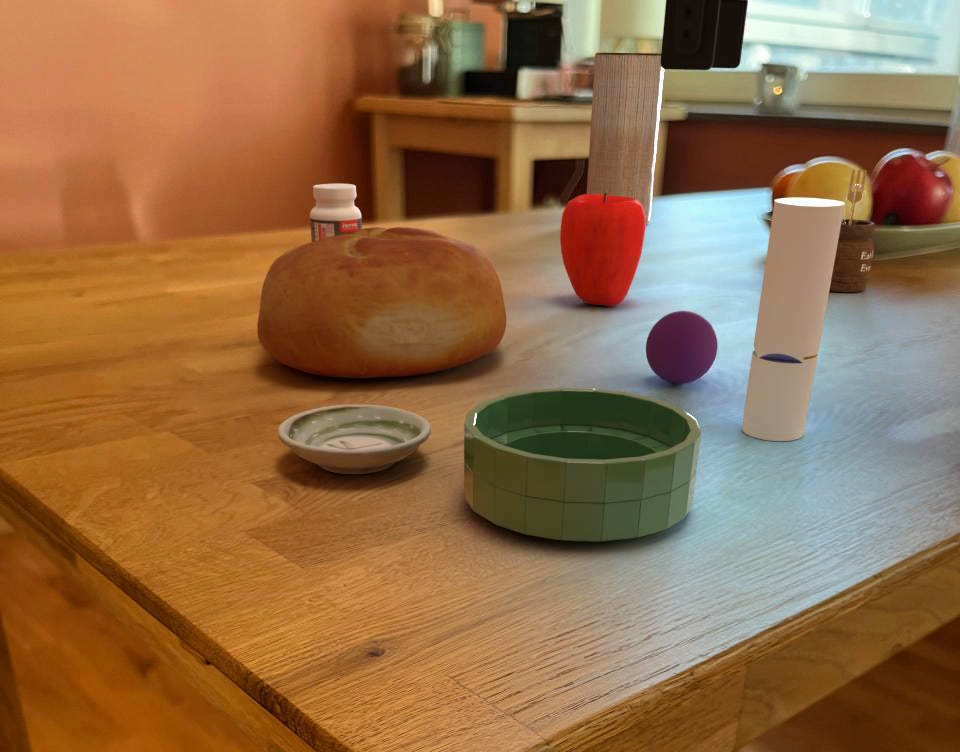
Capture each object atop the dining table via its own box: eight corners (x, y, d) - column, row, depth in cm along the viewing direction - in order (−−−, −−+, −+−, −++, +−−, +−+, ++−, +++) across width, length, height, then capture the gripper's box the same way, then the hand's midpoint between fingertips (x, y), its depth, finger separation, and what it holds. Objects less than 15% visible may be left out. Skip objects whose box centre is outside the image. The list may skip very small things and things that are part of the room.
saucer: (462, 460, 66) (462, 424, 65) (350, 502, 60) (348, 463, 59) (361, 427, 72) (359, 393, 70) (249, 462, 65) (245, 425, 64)
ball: (707, 373, 84) (716, 304, 82) (717, 393, 80) (727, 320, 77) (639, 372, 85) (646, 303, 82) (645, 391, 80) (652, 319, 77)
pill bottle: (351, 286, 113) (346, 190, 108) (305, 283, 115) (298, 187, 110) (372, 277, 118) (368, 184, 113) (327, 274, 119) (322, 181, 114)
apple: (540, 298, 109) (545, 188, 103) (608, 291, 112) (616, 185, 107) (585, 315, 102) (592, 199, 97) (656, 307, 106) (667, 195, 100)
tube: (779, 418, 74) (816, 196, 67) (816, 437, 71) (859, 205, 63) (729, 425, 73) (761, 198, 65) (764, 444, 69) (802, 207, 62)
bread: (198, 346, 90) (183, 226, 85) (410, 311, 103) (408, 204, 98) (340, 409, 75) (332, 267, 70) (568, 358, 88) (574, 235, 83)
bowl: (675, 467, 65) (684, 390, 63) (704, 555, 54) (716, 466, 52) (471, 461, 66) (471, 385, 63) (457, 547, 55) (457, 459, 52)
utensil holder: (811, 291, 114) (831, 174, 108) (812, 280, 119) (831, 168, 113) (866, 295, 112) (890, 176, 106) (865, 284, 118) (887, 170, 112)
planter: (616, 216, 163) (628, 52, 152) (663, 223, 157) (679, 53, 145) (571, 221, 158) (580, 52, 146) (619, 229, 151) (632, 53, 140)
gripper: (786, -327, 50) (736, 72, 59) (822, -244, 64) (778, 68, 72) (637, -313, 52) (611, 69, 61) (703, -236, 66) (674, 66, 75)
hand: (701, 68), depth 67 cm, fingers open, 9 cm apart
